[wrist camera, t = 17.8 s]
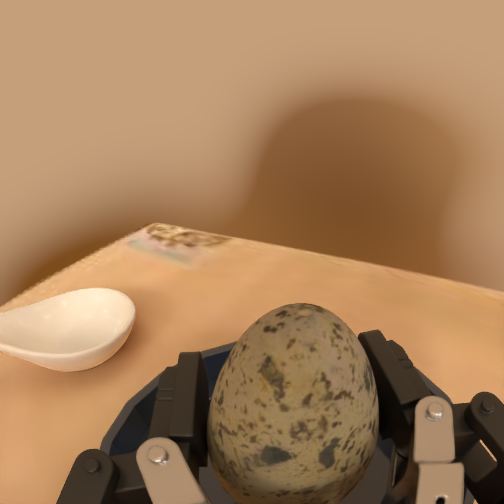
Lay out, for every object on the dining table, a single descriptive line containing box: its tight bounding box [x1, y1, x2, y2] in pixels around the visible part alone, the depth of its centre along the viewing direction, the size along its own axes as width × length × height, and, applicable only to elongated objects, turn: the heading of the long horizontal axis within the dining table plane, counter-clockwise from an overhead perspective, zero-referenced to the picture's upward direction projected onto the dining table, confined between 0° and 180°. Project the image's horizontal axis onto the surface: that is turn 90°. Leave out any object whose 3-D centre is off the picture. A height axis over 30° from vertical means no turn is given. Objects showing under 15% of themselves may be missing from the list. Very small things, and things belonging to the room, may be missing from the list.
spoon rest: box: [0, 288, 136, 372], centre depth 19 cm, size 24×12×7 cm, turn 138°
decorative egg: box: [207, 303, 379, 504], centre depth 9 cm, size 6×6×10 cm
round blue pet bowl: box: [100, 341, 475, 504], centre depth 11 cm, size 18×18×5 cm
